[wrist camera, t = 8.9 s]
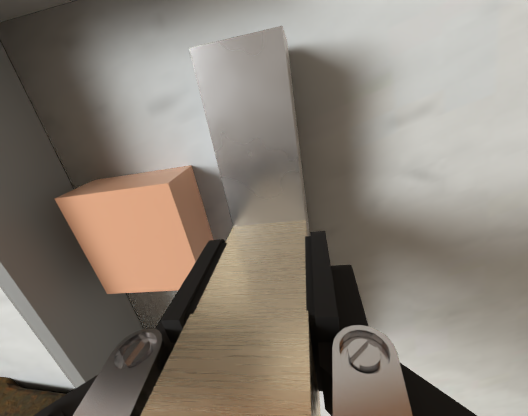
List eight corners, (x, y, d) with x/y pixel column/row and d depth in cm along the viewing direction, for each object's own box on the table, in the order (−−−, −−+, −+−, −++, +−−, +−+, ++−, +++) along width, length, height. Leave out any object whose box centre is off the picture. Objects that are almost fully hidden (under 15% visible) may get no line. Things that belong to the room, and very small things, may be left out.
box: (186, -67, 10) (89, -198, 5) (277, 357, 19) (271, 439, 15) (-39, 3, 12) (-249, -48, 7) (146, 357, 21) (105, 429, 17)
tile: (193, 163, 14) (167, 183, 11) (220, 255, 16) (204, 288, 14) (98, 178, 15) (54, 198, 12) (136, 261, 18) (107, 294, 15)
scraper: (287, 41, 10) (192, -255, 1) (320, 328, 17) (342, 609, 8) (216, 57, 11) (-178, -79, 2) (274, 329, 17) (245, 591, 8)
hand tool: (138, 391, 24) (105, 454, 20) (144, 414, 26) (114, 477, 22) (-42, 357, 26) (-108, 409, 22) (-26, 381, 28) (-84, 434, 23)
